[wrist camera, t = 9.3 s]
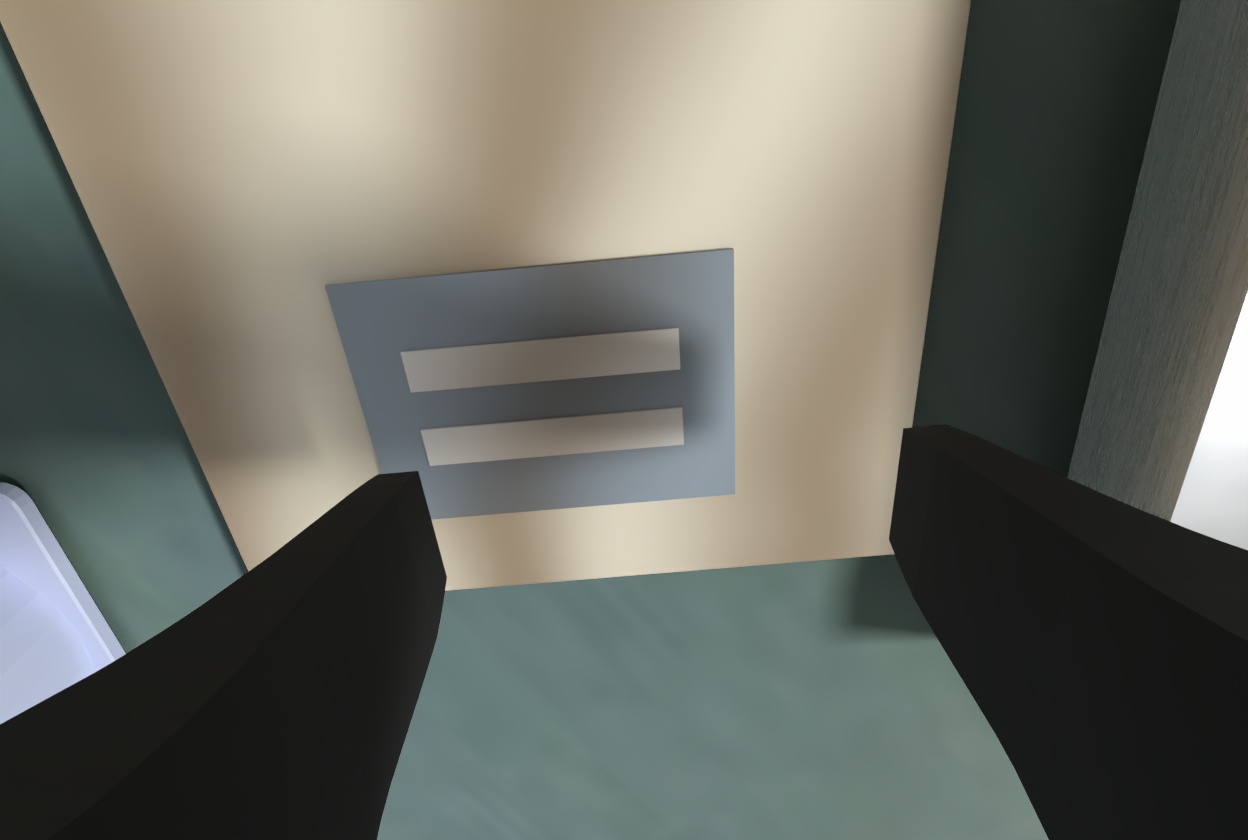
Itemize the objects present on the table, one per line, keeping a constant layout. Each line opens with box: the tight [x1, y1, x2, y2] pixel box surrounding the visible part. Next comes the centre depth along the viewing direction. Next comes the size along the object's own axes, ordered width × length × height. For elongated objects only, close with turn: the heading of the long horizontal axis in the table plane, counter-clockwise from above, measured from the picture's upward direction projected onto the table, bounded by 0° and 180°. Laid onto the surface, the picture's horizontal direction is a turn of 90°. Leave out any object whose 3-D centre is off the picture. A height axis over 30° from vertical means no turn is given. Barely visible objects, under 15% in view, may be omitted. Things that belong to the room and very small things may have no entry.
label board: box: [0, 0, 971, 591], centre depth 10 cm, size 14×20×1 cm
